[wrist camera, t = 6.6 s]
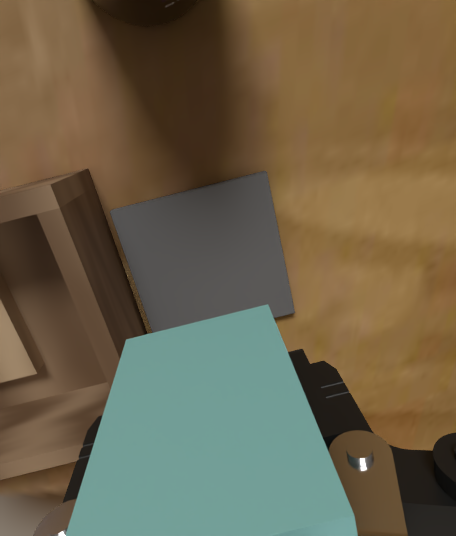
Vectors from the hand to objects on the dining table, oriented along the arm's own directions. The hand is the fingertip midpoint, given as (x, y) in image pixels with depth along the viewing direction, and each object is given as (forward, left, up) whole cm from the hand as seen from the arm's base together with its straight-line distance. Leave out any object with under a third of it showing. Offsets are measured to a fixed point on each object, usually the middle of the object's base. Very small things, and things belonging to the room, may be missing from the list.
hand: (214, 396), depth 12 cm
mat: (0, 0, -13) cm, 13 cm away
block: (0, 0, -1) cm, 1 cm away
